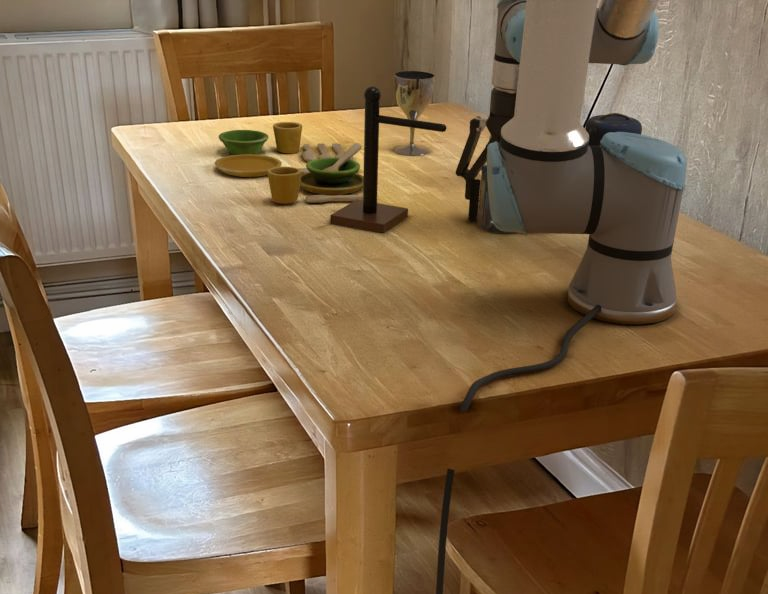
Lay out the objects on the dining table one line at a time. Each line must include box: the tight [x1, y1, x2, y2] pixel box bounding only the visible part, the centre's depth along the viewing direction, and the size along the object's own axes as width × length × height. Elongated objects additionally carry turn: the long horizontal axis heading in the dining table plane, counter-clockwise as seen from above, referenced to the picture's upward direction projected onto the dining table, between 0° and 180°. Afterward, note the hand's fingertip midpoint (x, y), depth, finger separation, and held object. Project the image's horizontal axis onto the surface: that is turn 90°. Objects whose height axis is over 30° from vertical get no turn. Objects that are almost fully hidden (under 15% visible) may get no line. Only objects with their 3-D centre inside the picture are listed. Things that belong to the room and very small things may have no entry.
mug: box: [477, 164, 519, 235], centre depth 177 cm, size 13×9×10 cm, turn 155°
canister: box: [584, 112, 643, 146], centre depth 181 cm, size 10×10×18 cm
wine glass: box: [393, 70, 435, 157], centre depth 216 cm, size 8×8×15 cm
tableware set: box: [214, 121, 364, 204], centre depth 202 cm, size 41×28×6 cm
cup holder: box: [330, 85, 447, 234], centre depth 174 cm, size 10×18×22 cm, turn 65°
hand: (502, 223), depth 181 cm, fingers open, 10 cm apart
